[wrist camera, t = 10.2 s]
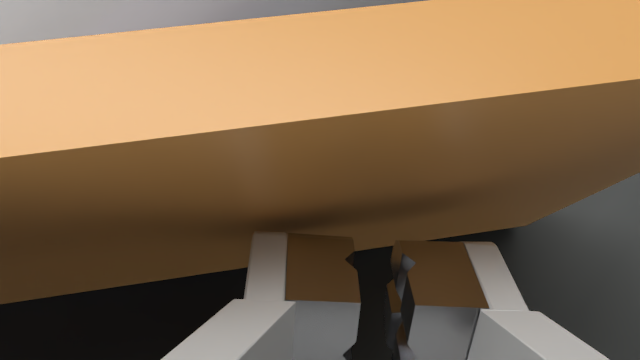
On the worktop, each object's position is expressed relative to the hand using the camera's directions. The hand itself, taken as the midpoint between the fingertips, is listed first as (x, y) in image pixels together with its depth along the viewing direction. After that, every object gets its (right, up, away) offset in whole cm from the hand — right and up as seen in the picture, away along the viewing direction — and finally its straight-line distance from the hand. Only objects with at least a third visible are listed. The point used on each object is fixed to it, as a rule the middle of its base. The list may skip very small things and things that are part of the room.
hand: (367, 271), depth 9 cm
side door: (-4, 0, +4) cm, 6 cm away
